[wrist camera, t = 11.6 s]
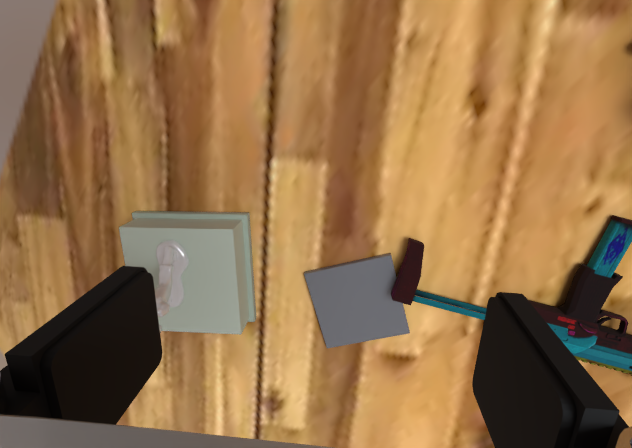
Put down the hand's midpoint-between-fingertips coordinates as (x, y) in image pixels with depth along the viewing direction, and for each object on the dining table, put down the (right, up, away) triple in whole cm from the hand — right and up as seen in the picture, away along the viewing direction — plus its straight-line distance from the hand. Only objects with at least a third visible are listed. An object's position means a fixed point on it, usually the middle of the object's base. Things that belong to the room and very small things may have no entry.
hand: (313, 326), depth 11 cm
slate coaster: (+4, -5, +30) cm, 31 cm away
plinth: (-13, -2, +30) cm, 33 cm away
